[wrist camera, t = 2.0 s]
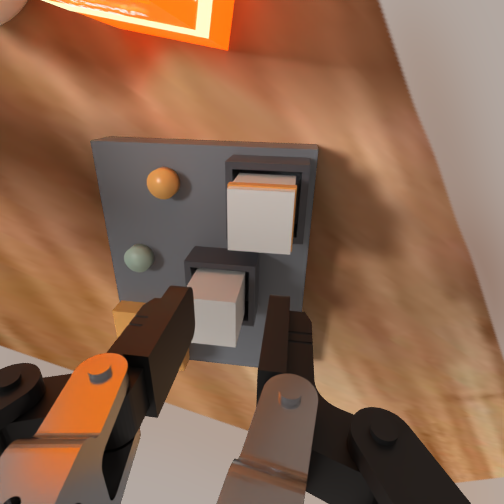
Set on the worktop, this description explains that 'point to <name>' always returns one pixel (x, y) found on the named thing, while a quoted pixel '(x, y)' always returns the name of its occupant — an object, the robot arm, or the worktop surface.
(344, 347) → the worktop surface
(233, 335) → the breaker plain
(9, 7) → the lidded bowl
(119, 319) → the cap
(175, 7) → the orange juice
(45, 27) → the worktop surface
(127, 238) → the breaker panel
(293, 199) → the breaker tagged
